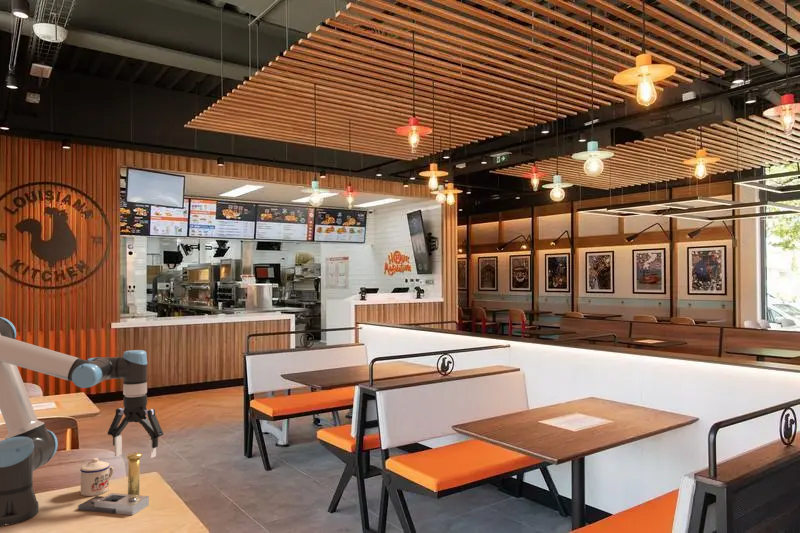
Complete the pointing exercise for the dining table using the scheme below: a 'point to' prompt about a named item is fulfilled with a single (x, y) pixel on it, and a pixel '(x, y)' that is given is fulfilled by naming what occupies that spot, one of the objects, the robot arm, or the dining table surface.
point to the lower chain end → (90, 507)
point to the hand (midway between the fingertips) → (135, 456)
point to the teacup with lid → (95, 477)
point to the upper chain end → (123, 503)
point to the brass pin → (133, 472)
